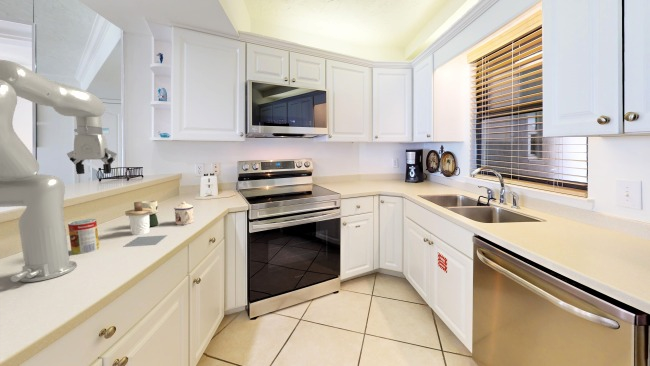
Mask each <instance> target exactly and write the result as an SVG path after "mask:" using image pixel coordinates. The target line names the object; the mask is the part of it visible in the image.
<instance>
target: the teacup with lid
mask: <svg viewBox="0 0 650 366" xmlns="http://www.w3.org/2000/svg"><path fill="white" fill-rule="evenodd" d="M173 210H174V217H175V224H176V225H180V226H184V225H190V224H192V223H194V221H195V219H194V206H193V205H192V204H188V203H186V201H181V203H179V204H177V205H176V206H174V208H173Z"/></svg>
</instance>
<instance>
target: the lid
mask: <svg viewBox="0 0 650 366" xmlns="http://www.w3.org/2000/svg"><path fill="white" fill-rule="evenodd" d="M142 202H143V201H134V202H133V207H134V208H133V209H130V210H129V209H128V210H126V211H125V213H124V214H125V216H128V217H129V216H138V215H145V214H149V213H151V212H152V209H149V208H142Z"/></svg>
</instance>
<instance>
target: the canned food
mask: <svg viewBox="0 0 650 366" xmlns="http://www.w3.org/2000/svg"><path fill="white" fill-rule="evenodd" d="M67 227H68V234H69V235H68V236H69V242H70V251H71V255H81V254H89V253H92V252H96V251H97V250H99V249H100V242H99V235H98V234H99V232H98V223H97V219H95V218H86V219H77V220H73V221H69V222H68V223H67Z"/></svg>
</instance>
